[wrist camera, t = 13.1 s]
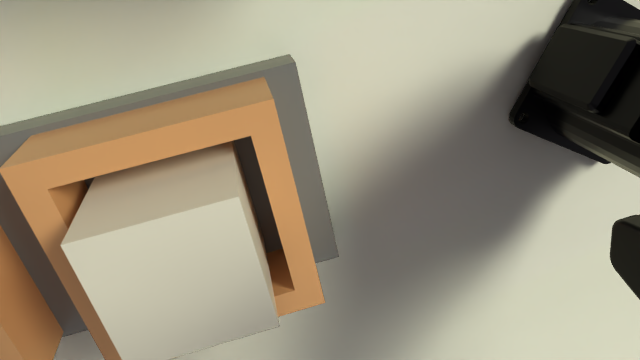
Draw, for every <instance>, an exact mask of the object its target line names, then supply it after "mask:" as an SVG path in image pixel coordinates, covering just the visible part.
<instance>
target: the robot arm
mask: <svg viewBox="0 0 640 360" xmlns="http://www.w3.org/2000/svg"><path fill="white" fill-rule="evenodd" d="M523 113H524V117H523V118H522V119H521V120H519V117H520V115H521V114H523ZM509 121H510V123H511V124H512V125H514V126H515V127H517V128H519V129H522V130H524V131H526V132H529V133H531V134H534V135H536V136H538V137H541V138H543V139H546V140H548V141H550V142H553V143H555V144H558V145H560V146H562V147H565V148H567V149H570V150H572V151H574V152H577V153H579V154H582V155H584V156H586V157H589V158H591V159H594V160H596V161H598V162H601V163H603V164H609V163H613V164H615V165H617V166H619V167H621V168H623V169H625V170H626V171H628V172H630V173H632V174H634V175H636V176H638V177H640V10H639V9H637V8H636V7H634V6H632V5H630V4H629V3H627V2H625V1H624V0H591V1H590V2H589V3H588V0H574V1H573V3H572V4H571V6H570V8H569V10H568V12H567V13H566V15H565V17H564V19H563V20H562V22H561V24H560V26H559V27H558V28H557V30H556V32H555V33H554V35H553V37H552V39H551V41H550V42H549V44H548V46H547V48H546V49H545V51H544V53H543V55H542V56H541V58H540V60H539V62H538V64H537V65H536V67H535V69H534V71H533V72H532V74H531V76H530V78H529V80H528V82H527V84H526V86H525V87H524V89H523V91H522V93H521V95H520V96H519V98H518V100H517V102H516V103H515V105H514V107H513V109H512V110H511V112H510V115H509ZM610 260H611V263H612V265H613V267H614V269H615V270H616V271H617V273H618V274H619V275H620V276H621V277H622V279H623V280H624V281H625V282H626V284H627V285H628V286H629V287H630V289H631V290H632V291H633V292H634V293H635V295H636V296H637V297H638V298H639V300H640V215H633V216H629V217H626V218H623V219H620V220H617V221H616V222H615V223H614V225H613V227H612V236H611V248H610Z"/></svg>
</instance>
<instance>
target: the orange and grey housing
mask: <svg viewBox="0 0 640 360" xmlns="http://www.w3.org/2000/svg"><path fill="white" fill-rule="evenodd" d="M336 257H339V255H338V251H337V246H336V242H335V237H334V233H333V228H332V224H331V219H330V215H329V210H328V206H327V201H326V197H325V192H324V188H323V183H322V179H321V174H320V170H319V165H318V161H317V157H316V152H315V148H314V143H313V139H312V134H311V130H310V125H309V121H308V116H307V112H306V107H305V103H304V98H303V94H302V89H301V85H300V80H299V76H298V71H297V67H296V63H295V61H294V60H293V58H292V57H291V56H290V54H289V55H285V56H281V57H277V58H273V59H269V60H265V61H260V62H256V63H252V64H248V65H244V66H240V67H236V68H232V69H228V70H224V71H220V72H216V73H212V74H208V75H204V76H200V77H196V78H192V79H188V80H184V81H180V82H176V83H172V84H168V85H164V86H160V87H156V88H152V89H148V90H144V91H140V92H136V93H132V94H128V95H124V96H120V97H116V98H112V99H108V100H104V101H100V102H96V103H92V104H88V105H84V106H80V107H76V108H72V109H68V110H64V111H60V112H56V113H52V114H48V115H44V116H40V117H36V118H32V119H28V120H24V121H20V122H16V123H12V124H8V125H4V126H0V360H53V358H54V356H55V353H56V350H57V348H58V345H59V343H60V340H61V337H64V336H68V335H71V334H75V333H78V332H81V331H85V330H89V332H90V334H91V335H92V337H93V339H94V341H95V343H96V344H97V346H98V348H99V350H100V351H101V353H102V355H103V357H104V359H105V360H170V359H173V358H176V357H180V356H183V355H186V354H190V353H193V352H196V351H200V350H203V349H206V348H210V347H213V346H216V345H219V344H223V343H226V342H229V341H233V340H236V339H239V338H243V337H246V336H249V335H253V334H256V333H259V332H263V331H266V330H269V329H273V328H276V327H279V326H280V324H279V319H278V317H279V316H282V315H286V314H289V313H292V312H296V311H299V310H302V309H306V308H309V307H312V306H316V305H319V304H322V303H325V300H324V296H323V292H322V288H321V284H320V280H319V276H318V272H317V268H316V265H315V263H319V262H322V261H325V260H329V259H332V258H336Z"/></svg>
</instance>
